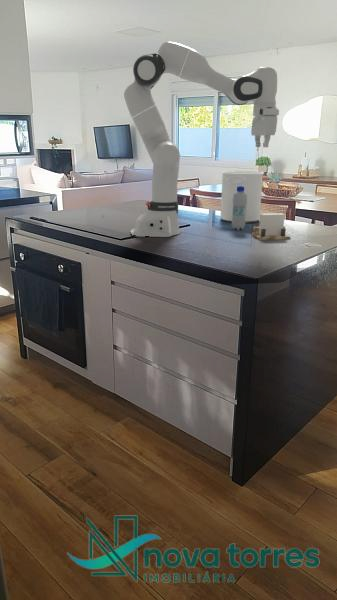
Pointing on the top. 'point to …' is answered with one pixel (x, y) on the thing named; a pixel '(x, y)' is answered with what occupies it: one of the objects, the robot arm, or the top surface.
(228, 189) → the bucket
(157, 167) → the robot arm
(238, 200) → the bottle
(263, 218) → the white rectangular block
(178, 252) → the top surface
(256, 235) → the tan pegged board
